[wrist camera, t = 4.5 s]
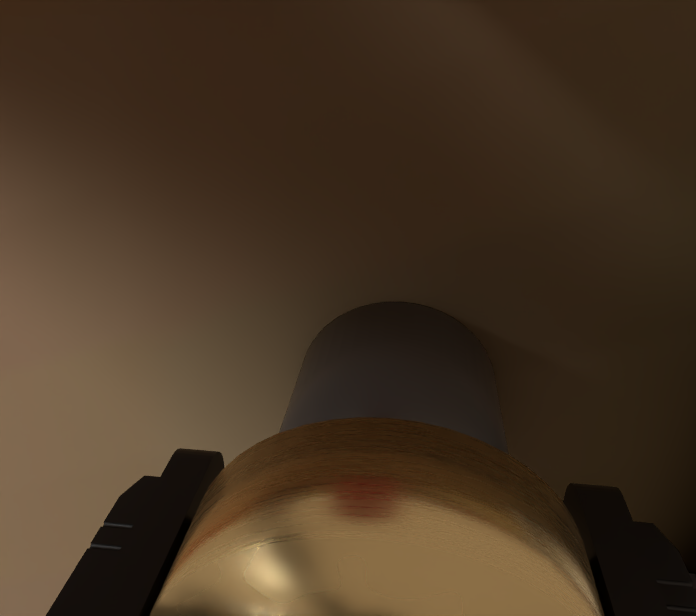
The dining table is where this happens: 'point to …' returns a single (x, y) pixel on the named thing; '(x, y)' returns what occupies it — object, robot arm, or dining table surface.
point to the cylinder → (399, 373)
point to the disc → (379, 530)
